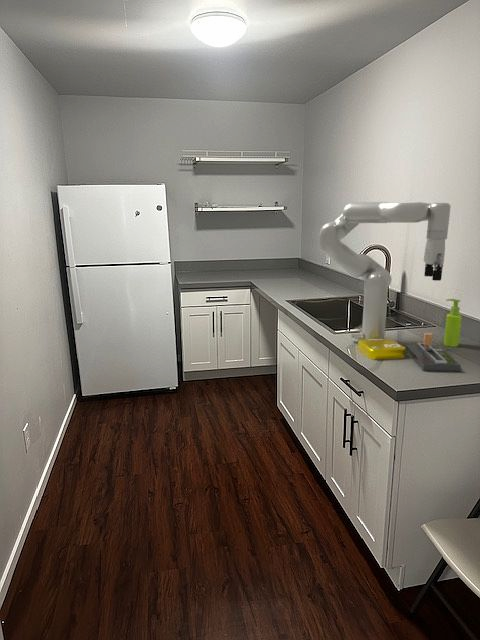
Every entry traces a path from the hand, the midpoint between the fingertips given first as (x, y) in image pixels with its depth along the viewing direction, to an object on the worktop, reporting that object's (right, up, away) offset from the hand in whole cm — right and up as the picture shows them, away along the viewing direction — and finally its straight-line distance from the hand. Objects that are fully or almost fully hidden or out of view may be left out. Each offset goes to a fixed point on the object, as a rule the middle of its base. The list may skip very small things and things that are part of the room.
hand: (432, 278), depth 182 cm
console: (-3, -33, -5) cm, 33 cm away
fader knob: (-2, -28, -1) cm, 29 cm away
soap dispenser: (+14, -28, +15) cm, 34 cm away
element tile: (-20, -31, +4) cm, 37 cm away
